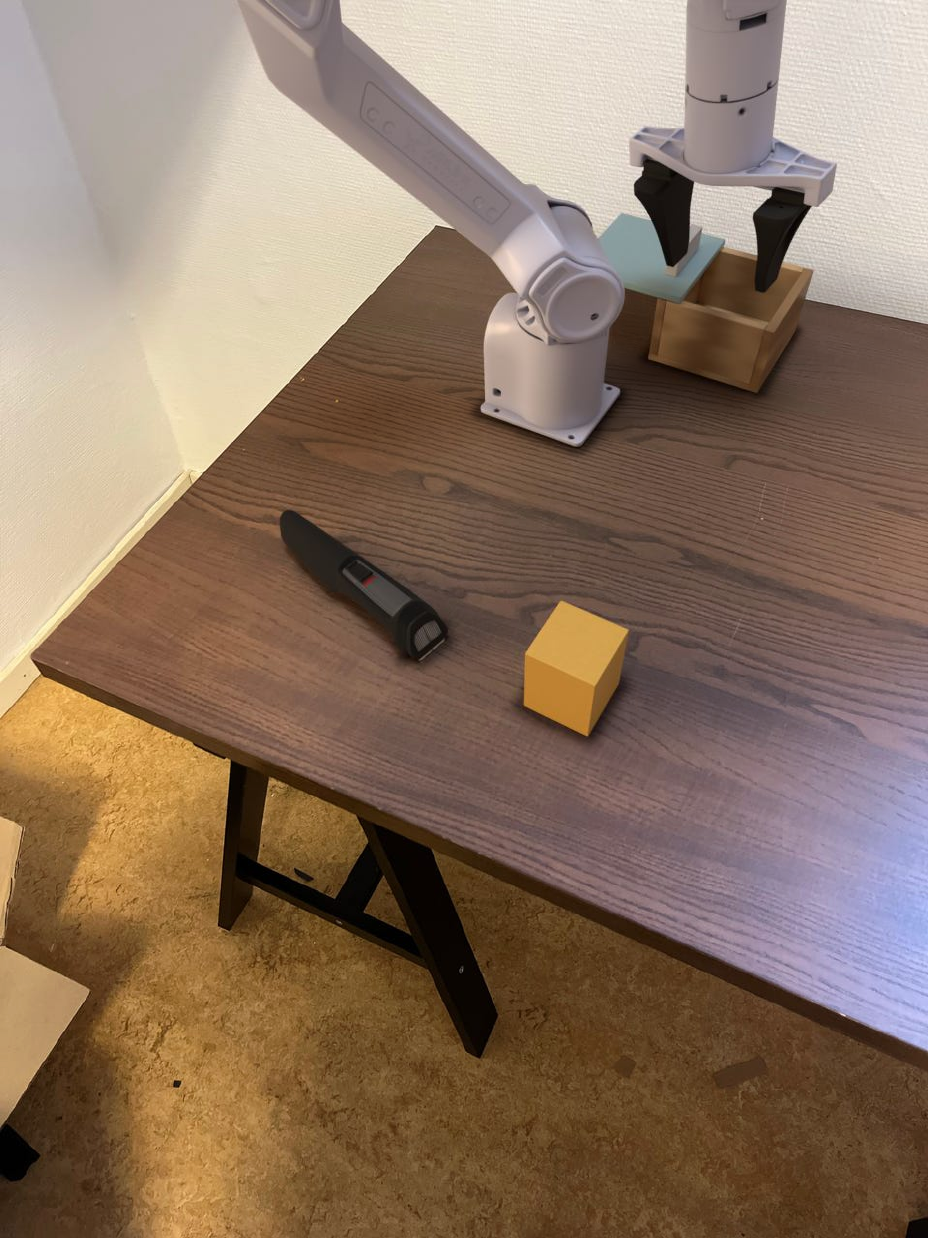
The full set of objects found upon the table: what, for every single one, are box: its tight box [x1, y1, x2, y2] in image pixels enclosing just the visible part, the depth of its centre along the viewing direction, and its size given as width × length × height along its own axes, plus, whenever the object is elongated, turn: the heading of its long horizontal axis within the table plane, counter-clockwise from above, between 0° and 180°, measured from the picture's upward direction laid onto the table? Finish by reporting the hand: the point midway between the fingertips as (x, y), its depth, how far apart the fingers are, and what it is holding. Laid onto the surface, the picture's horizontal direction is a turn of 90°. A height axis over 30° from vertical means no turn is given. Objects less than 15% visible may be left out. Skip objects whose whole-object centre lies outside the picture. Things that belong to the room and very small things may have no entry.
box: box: [648, 246, 814, 394], centre depth 75 cm, size 10×10×6 cm
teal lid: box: [597, 212, 726, 303], centre depth 74 cm, size 10×10×3 cm
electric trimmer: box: [279, 509, 449, 662], centre depth 61 cm, size 4×16×3 cm, turn 45°
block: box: [523, 600, 630, 737], centre depth 53 cm, size 5×5×6 cm
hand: (720, 271), depth 65 cm, fingers open, 7 cm apart
